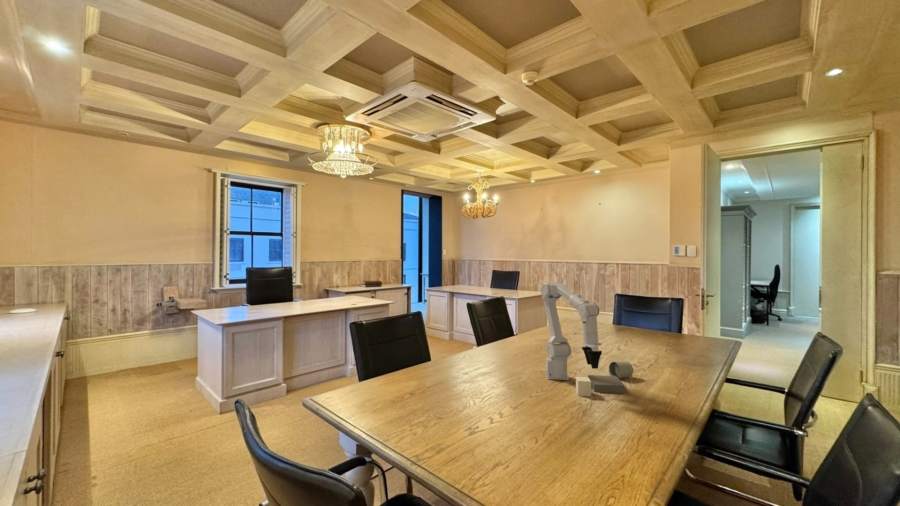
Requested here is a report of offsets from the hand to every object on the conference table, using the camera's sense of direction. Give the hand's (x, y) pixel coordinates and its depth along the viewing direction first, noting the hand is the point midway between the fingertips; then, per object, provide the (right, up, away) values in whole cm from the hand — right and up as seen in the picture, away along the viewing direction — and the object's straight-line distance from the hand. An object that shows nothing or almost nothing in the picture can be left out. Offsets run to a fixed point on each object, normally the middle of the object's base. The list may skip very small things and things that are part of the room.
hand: (592, 366), depth 149 cm
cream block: (-3, -12, +1) cm, 12 cm away
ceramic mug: (+21, -12, +22) cm, 32 cm away
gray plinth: (+9, -11, +8) cm, 16 cm away
